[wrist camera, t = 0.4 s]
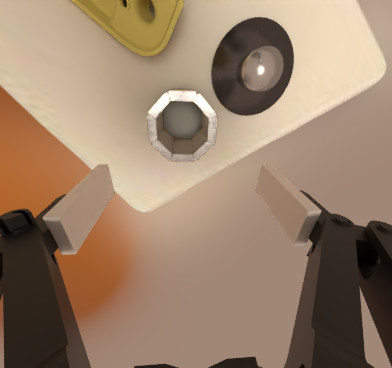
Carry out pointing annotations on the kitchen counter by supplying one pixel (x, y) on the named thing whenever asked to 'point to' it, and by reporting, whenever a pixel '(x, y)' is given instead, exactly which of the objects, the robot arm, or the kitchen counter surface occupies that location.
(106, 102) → the kitchen counter surface
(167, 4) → the plastic component
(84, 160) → the kitchen counter surface
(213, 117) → the collar
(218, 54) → the duct stub
